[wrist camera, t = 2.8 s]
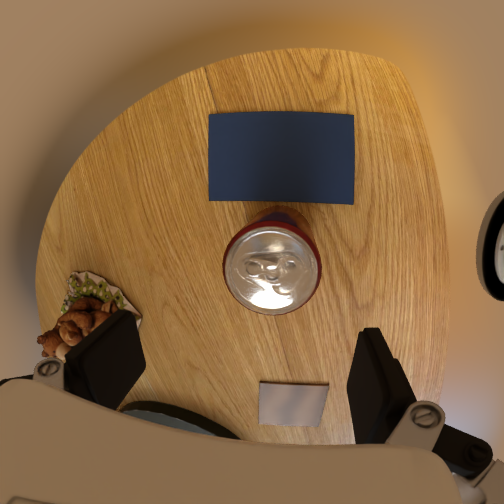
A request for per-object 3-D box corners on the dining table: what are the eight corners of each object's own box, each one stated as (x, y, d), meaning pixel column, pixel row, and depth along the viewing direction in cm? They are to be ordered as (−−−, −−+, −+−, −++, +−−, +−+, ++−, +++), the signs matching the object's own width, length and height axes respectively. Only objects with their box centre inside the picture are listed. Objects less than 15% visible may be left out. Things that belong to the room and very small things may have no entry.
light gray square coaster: (328, 384, 35) (329, 385, 35) (318, 425, 38) (318, 426, 37) (259, 380, 37) (259, 382, 36) (258, 422, 39) (258, 423, 39)
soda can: (321, 216, 29) (337, 241, 18) (300, 276, 32) (301, 330, 20) (258, 196, 30) (234, 207, 18) (240, 256, 32) (210, 301, 21)
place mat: (353, 115, 26) (353, 115, 26) (352, 204, 28) (353, 204, 28) (209, 115, 28) (208, 114, 28) (209, 200, 31) (208, 200, 31)
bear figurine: (135, 365, 40) (98, 412, 28) (69, 322, 40) (26, 355, 29) (148, 301, 36) (98, 347, 24) (73, 257, 36) (16, 283, 25)
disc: (177, 382, 39) (170, 394, 36) (281, 468, 43) (280, 479, 40) (98, 413, 48) (92, 421, 45) (185, 482, 51) (182, 490, 48)
